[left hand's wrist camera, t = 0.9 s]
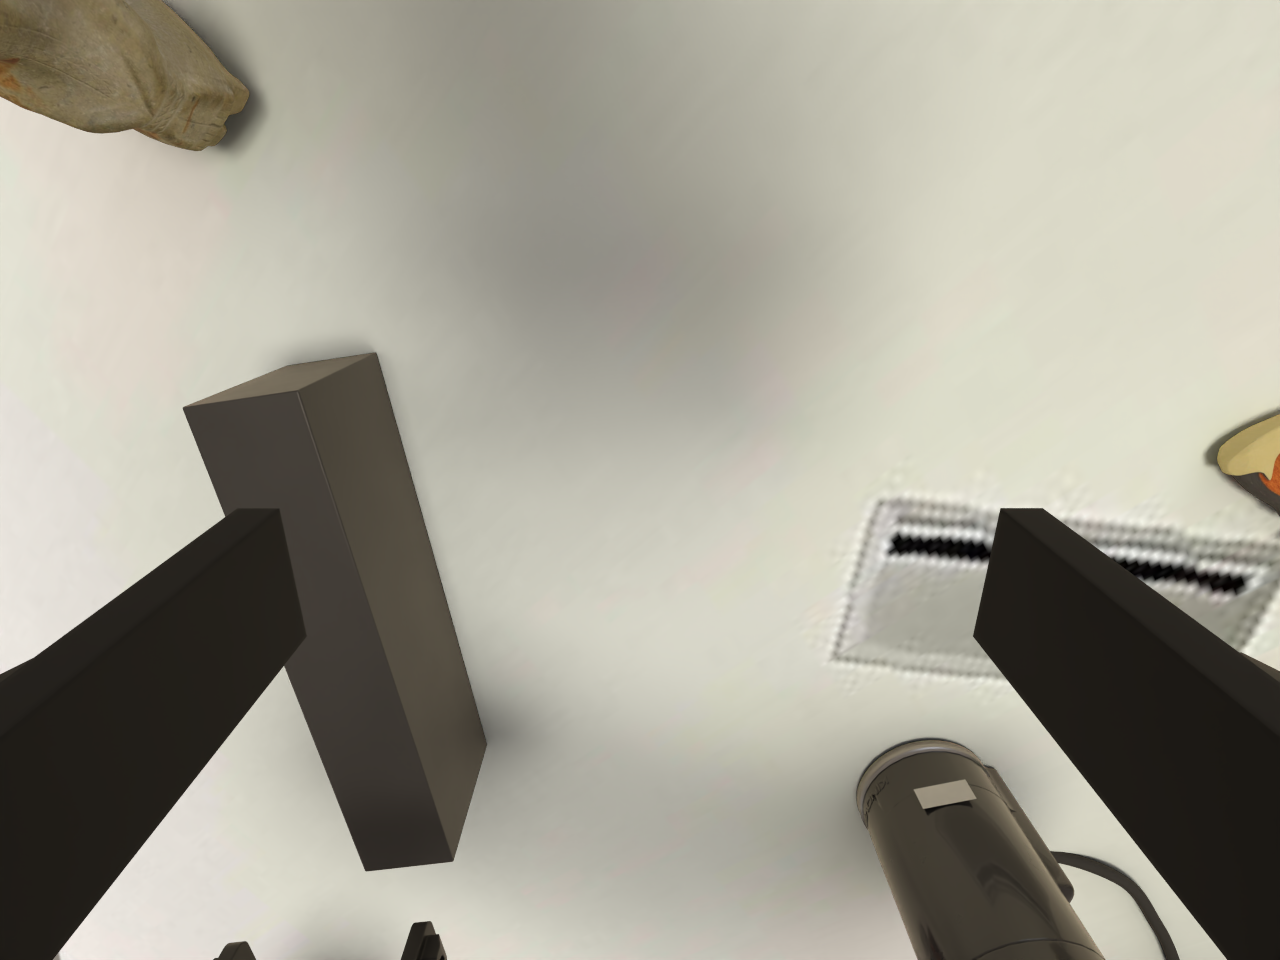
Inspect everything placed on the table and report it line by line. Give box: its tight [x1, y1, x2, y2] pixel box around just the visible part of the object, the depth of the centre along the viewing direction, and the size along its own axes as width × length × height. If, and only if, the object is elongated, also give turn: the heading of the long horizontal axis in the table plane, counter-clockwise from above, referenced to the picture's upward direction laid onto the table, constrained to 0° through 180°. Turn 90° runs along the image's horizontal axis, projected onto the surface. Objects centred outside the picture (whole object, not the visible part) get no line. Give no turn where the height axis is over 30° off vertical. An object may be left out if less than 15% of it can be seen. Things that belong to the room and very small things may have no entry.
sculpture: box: [0, 0, 249, 151], centre depth 26 cm, size 6×7×15 cm
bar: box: [183, 353, 487, 871], centre depth 38 cm, size 28×5×9 cm, turn 8°
